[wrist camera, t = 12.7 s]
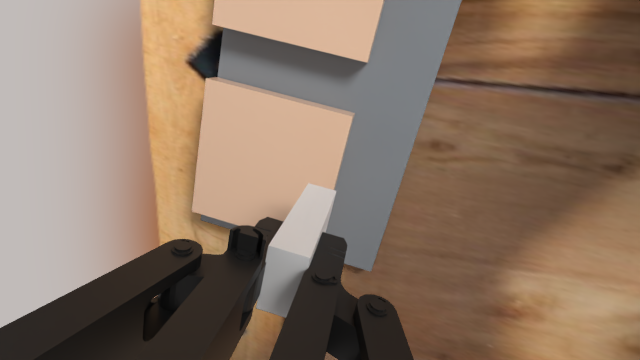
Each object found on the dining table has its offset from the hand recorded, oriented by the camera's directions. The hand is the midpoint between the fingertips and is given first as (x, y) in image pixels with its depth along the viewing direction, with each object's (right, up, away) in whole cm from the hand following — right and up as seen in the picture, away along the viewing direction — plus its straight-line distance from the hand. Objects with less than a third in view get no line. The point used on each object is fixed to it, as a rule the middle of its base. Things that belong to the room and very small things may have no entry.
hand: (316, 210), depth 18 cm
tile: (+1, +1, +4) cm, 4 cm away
